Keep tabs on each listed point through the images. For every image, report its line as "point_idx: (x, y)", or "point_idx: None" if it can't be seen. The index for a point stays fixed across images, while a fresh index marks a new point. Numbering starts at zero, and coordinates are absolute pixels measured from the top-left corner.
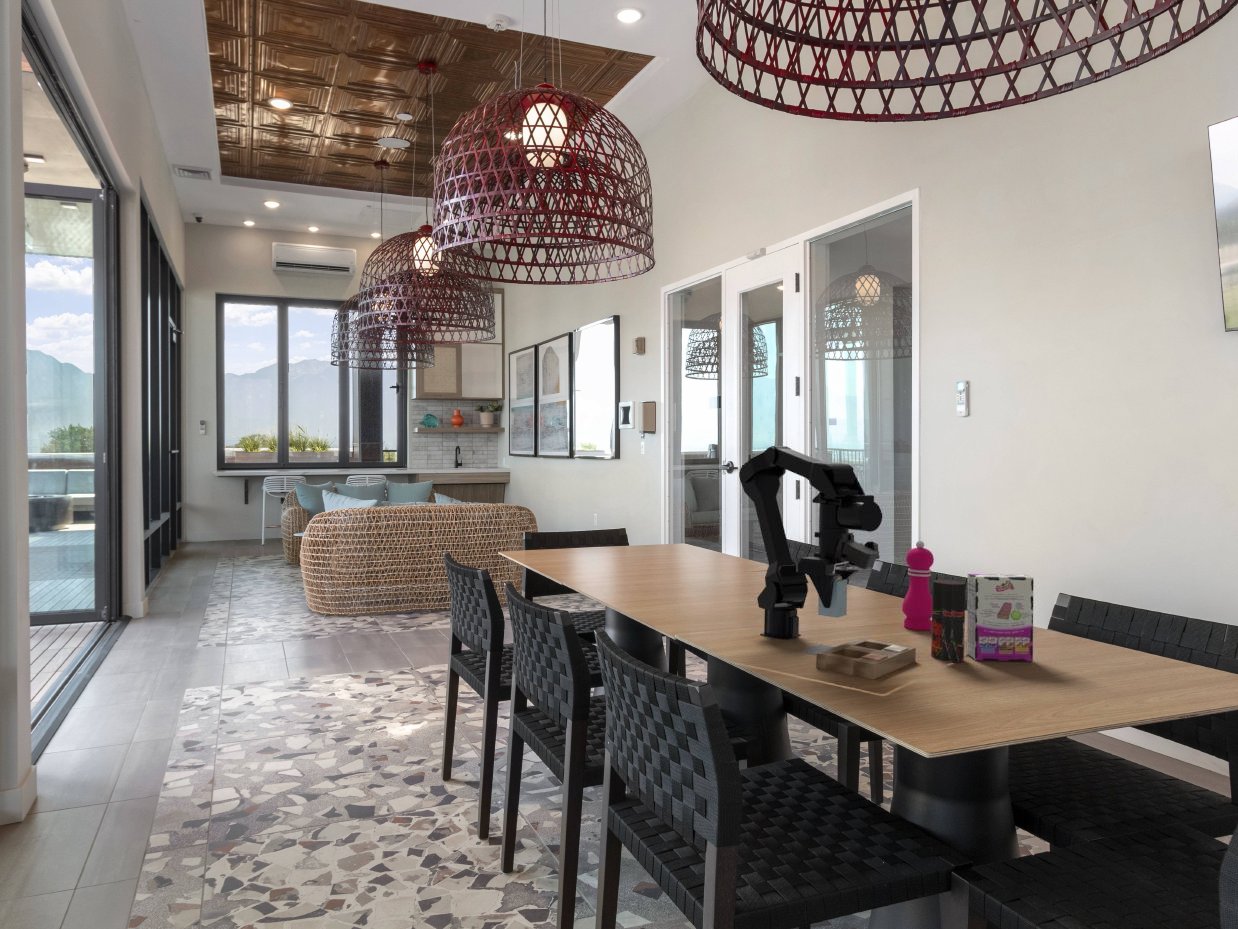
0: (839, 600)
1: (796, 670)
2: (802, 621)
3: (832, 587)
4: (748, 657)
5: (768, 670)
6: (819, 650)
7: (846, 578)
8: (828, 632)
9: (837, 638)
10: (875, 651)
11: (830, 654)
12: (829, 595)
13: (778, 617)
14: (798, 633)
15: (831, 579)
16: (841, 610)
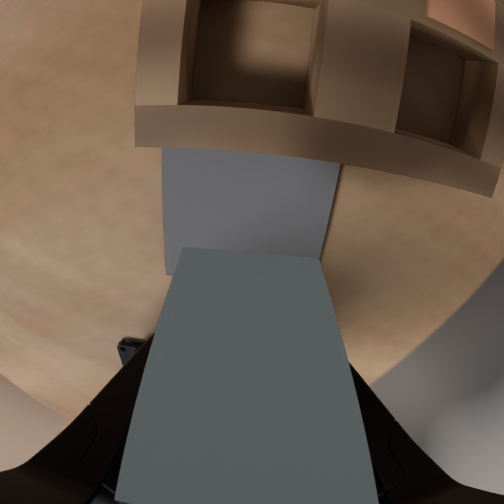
0: (302, 338)
1: (481, 217)
2: (18, 363)
3: (378, 457)
4: (406, 338)
5: (493, 264)
6: (252, 248)
7: (91, 502)
8: (27, 307)
9: (49, 271)
10: (366, 7)
11: (493, 155)
12: (381, 402)
13: None
14: (137, 349)
15: (490, 496)
16: (258, 277)
